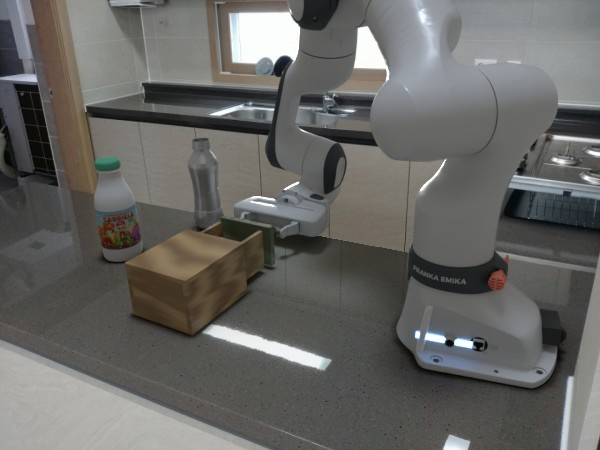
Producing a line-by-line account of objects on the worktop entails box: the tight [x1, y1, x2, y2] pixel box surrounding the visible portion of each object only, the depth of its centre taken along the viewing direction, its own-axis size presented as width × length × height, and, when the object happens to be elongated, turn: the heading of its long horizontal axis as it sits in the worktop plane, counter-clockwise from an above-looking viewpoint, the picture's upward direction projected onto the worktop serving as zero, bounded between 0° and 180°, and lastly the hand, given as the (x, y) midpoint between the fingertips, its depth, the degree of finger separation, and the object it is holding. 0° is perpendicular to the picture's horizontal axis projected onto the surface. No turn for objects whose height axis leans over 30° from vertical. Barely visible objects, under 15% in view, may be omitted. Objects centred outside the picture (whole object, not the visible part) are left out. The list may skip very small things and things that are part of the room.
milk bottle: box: [93, 156, 144, 263], centre depth 105 cm, size 8×8×20 cm
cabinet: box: [124, 228, 248, 336], centre depth 89 cm, size 15×13×10 cm
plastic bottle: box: [187, 137, 225, 230], centre depth 117 cm, size 6×7×20 cm
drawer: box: [199, 214, 276, 281], centre depth 99 cm, size 18×11×8 cm, turn 150°
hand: (258, 229), depth 105 cm, fingers open, 8 cm apart
